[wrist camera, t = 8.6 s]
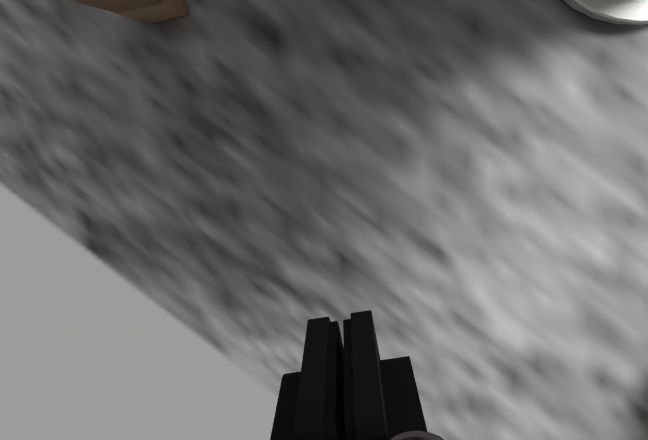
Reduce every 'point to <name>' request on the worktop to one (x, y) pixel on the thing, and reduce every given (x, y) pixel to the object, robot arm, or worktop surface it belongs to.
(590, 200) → the worktop surface
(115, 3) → the bridge
